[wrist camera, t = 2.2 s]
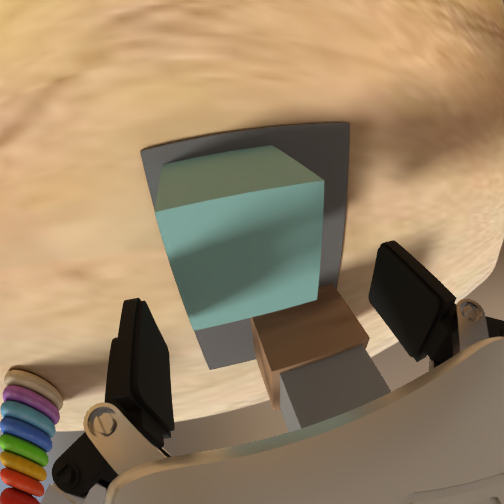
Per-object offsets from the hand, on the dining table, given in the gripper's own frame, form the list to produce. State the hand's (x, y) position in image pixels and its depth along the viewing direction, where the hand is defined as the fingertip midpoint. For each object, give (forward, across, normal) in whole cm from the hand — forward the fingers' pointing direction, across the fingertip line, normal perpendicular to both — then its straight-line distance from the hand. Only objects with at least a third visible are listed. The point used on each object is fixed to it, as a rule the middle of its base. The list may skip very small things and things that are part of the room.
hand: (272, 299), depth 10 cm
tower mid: (+2, -4, +11) cm, 12 cm away
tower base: (+8, -4, +11) cm, 14 cm away
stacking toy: (+8, +26, +15) cm, 31 cm away
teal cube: (+7, 0, -1) cm, 7 cm away
